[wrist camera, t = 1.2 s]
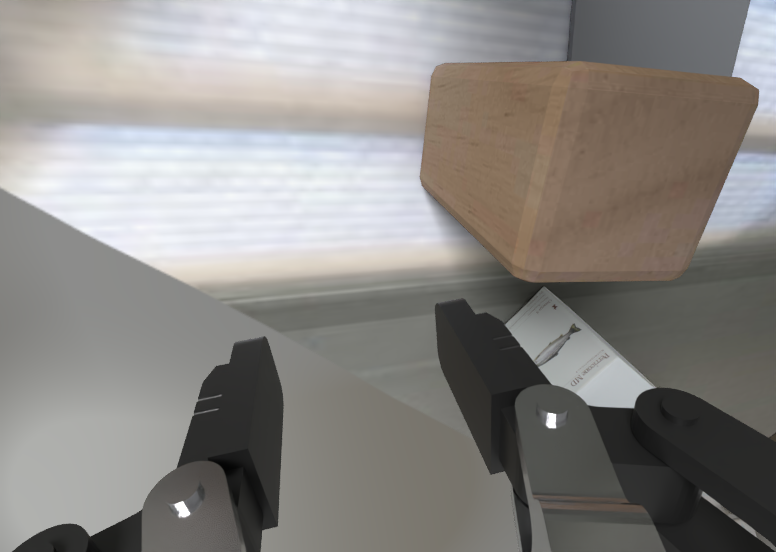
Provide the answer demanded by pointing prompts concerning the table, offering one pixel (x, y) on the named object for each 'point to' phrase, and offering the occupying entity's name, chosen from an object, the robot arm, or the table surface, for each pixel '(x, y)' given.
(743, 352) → the table surface
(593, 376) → the supplement box
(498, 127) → the block
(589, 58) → the mat
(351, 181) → the table surface
